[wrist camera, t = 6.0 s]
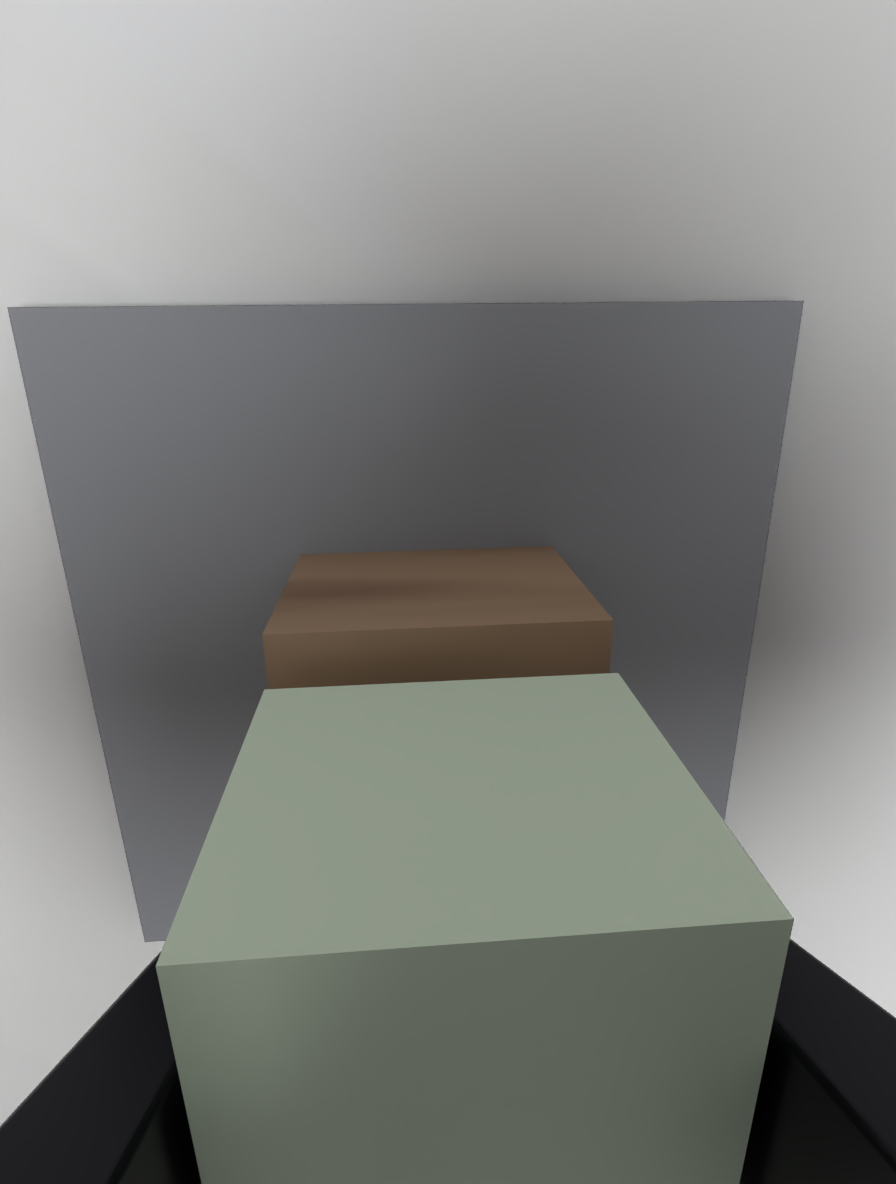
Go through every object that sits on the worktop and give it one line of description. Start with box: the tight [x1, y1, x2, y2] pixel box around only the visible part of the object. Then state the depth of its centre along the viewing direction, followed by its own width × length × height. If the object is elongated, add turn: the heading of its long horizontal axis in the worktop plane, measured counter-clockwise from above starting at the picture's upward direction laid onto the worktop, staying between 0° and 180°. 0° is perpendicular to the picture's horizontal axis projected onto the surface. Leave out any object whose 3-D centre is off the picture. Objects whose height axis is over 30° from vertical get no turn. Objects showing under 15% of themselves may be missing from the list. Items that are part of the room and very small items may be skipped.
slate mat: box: [7, 301, 804, 942], centre depth 14 cm, size 14×14×1 cm
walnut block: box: [262, 546, 613, 689], centre depth 12 cm, size 5×5×4 cm
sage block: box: [156, 673, 794, 1184], centre depth 7 cm, size 4×4×4 cm
